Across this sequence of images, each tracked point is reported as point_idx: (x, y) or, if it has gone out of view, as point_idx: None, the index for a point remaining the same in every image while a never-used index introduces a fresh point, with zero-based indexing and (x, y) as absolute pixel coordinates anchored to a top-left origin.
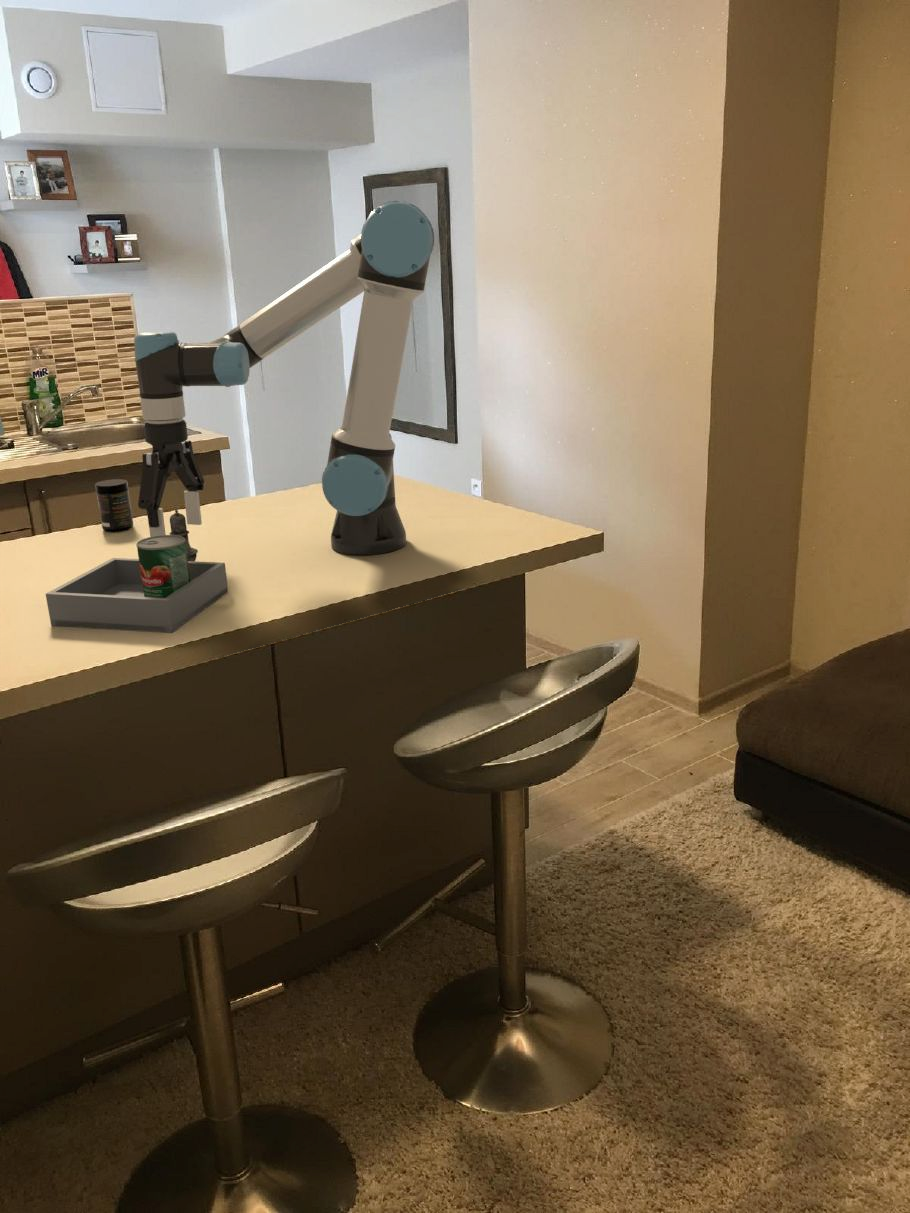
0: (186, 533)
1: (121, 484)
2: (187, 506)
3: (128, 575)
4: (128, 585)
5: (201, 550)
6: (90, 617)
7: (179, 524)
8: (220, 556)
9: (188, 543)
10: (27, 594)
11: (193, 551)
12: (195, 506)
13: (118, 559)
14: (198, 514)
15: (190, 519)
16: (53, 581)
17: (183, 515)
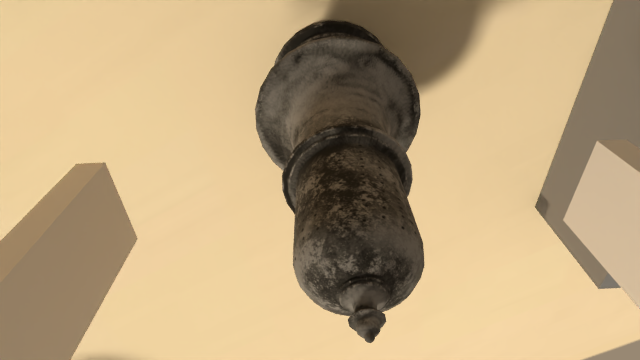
0: (363, 129)
1: None
2: (67, 337)
3: None
4: None
5: (67, 158)
6: None
7: (405, 201)
8: (89, 26)
9: (334, 102)
10: (561, 347)
11: (331, 57)
12: (26, 287)
13: None
14: (62, 216)
15: (113, 242)
16: (464, 350)
17: (339, 242)
